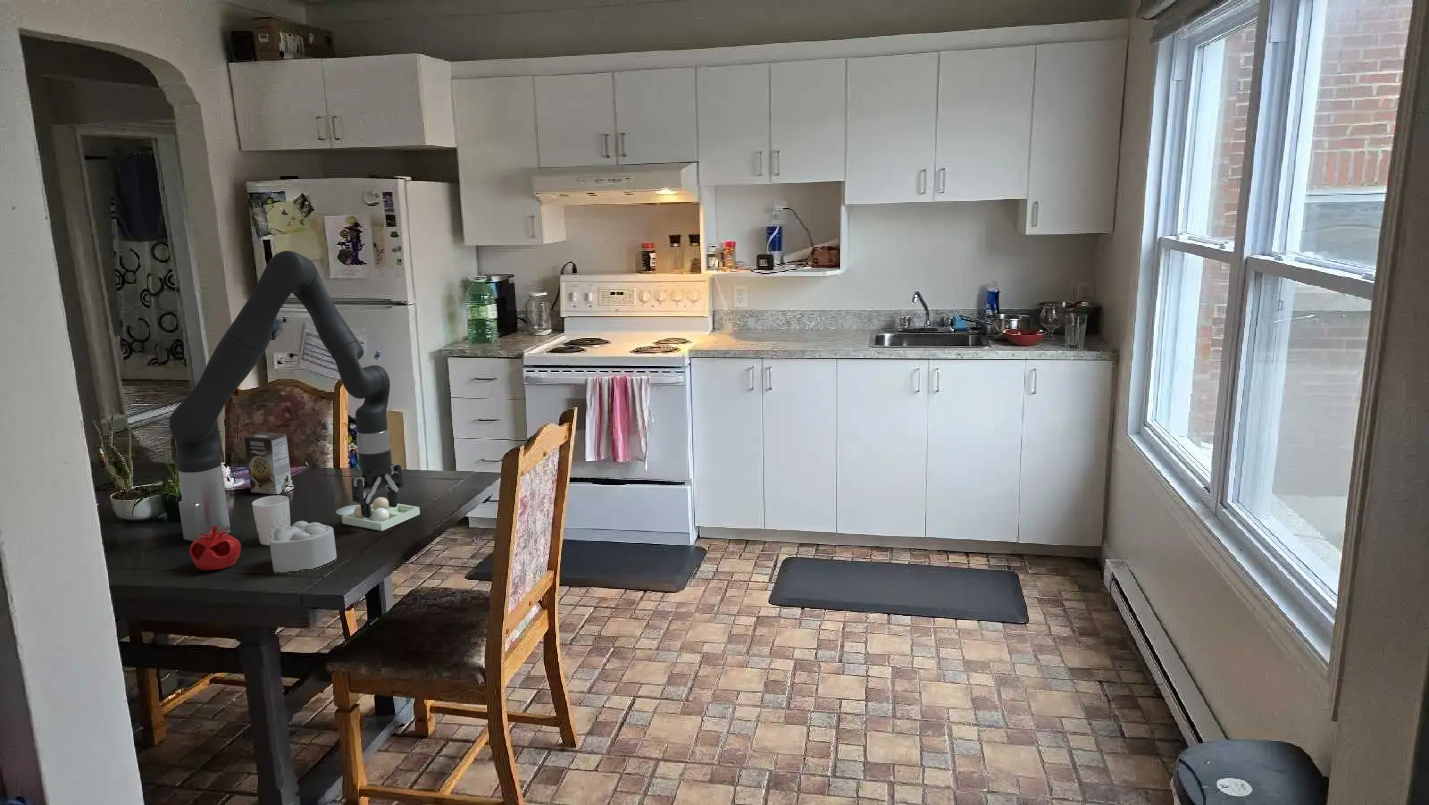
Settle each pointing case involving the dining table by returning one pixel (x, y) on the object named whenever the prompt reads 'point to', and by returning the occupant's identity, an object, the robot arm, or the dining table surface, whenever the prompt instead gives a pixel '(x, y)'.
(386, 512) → the egg
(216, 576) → the dining table surface
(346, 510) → the saucer
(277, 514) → the white cup
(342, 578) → the dining table surface
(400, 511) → the tray
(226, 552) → the red tomato lantern
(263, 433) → the coffee box
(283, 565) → the lumpy-topped squat cylinder
